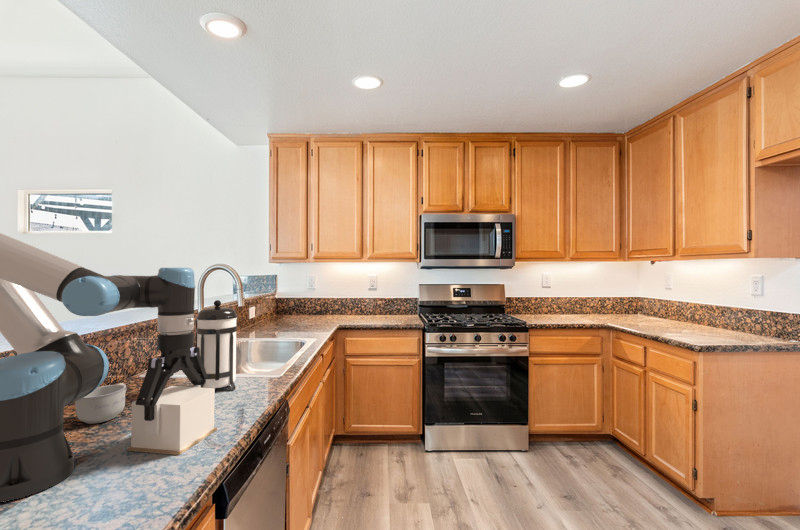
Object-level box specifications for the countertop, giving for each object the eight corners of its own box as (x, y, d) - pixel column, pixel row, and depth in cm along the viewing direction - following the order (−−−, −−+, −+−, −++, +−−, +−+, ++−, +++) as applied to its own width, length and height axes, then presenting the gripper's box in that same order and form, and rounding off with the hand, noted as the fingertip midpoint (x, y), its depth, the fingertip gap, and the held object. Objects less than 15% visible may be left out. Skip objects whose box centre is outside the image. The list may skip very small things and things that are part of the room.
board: (179, 454, 82) (180, 452, 82) (127, 450, 84) (127, 447, 84) (217, 429, 95) (217, 427, 95) (170, 426, 97) (170, 424, 97)
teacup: (97, 429, 95) (97, 397, 95) (62, 425, 97) (63, 394, 97) (144, 409, 109) (145, 381, 109) (113, 406, 111) (114, 379, 111)
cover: (179, 450, 83) (180, 405, 83) (131, 447, 84) (131, 402, 85) (214, 428, 95) (214, 388, 95) (171, 425, 96) (171, 385, 96)
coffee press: (178, 392, 124) (179, 301, 124) (218, 379, 138) (219, 298, 139) (216, 400, 117) (218, 303, 117) (255, 385, 132) (255, 299, 132)
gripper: (148, 342, 77) (146, 447, 77) (222, 325, 102) (221, 404, 101) (115, 341, 78) (114, 444, 78) (197, 324, 103) (196, 402, 102)
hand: (175, 421), depth 90 cm, fingers open, 13 cm apart
